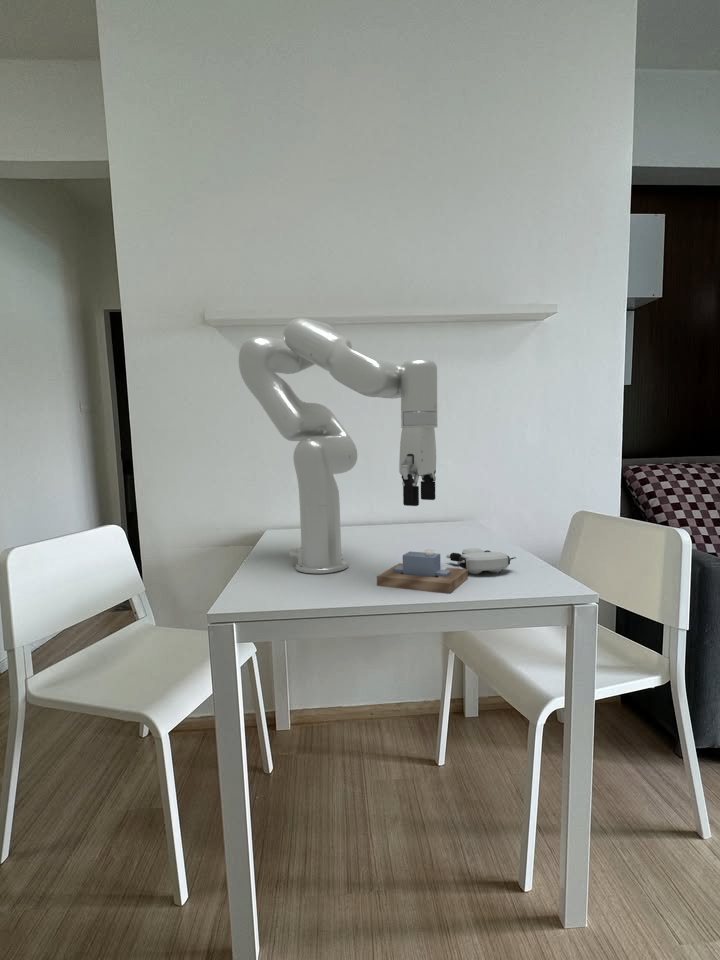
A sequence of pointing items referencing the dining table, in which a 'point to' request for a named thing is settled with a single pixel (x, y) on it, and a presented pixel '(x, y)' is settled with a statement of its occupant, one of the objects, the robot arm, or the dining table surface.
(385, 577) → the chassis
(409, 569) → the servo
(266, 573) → the dining table surface
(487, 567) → the robot toy
